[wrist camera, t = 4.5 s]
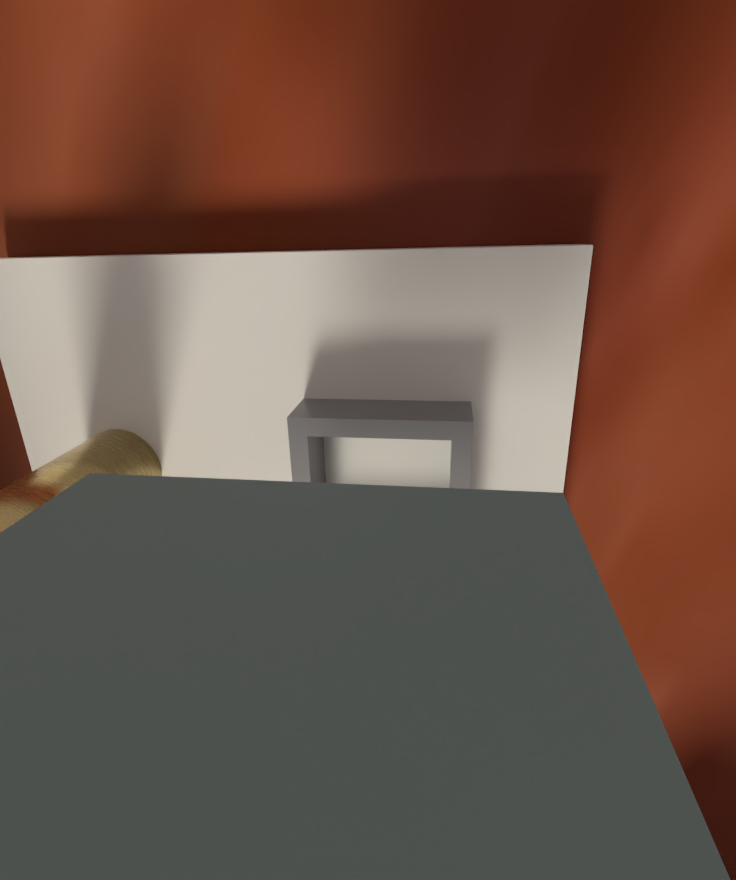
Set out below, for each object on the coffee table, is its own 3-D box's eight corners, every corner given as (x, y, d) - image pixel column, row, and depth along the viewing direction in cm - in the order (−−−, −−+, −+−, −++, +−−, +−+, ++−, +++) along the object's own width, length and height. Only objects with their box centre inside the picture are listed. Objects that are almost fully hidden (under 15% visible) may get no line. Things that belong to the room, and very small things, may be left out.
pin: (96, 499, 21) (-99, 646, 13) (79, 427, 20) (-144, 545, 12) (167, 503, 20) (6, 657, 13) (154, 429, 19) (-30, 552, 12)
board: (94, 596, 25) (40, 650, 21) (6, 257, 19) (-83, 262, 16) (537, 630, 22) (552, 699, 19) (581, 243, 16) (613, 246, 13)
